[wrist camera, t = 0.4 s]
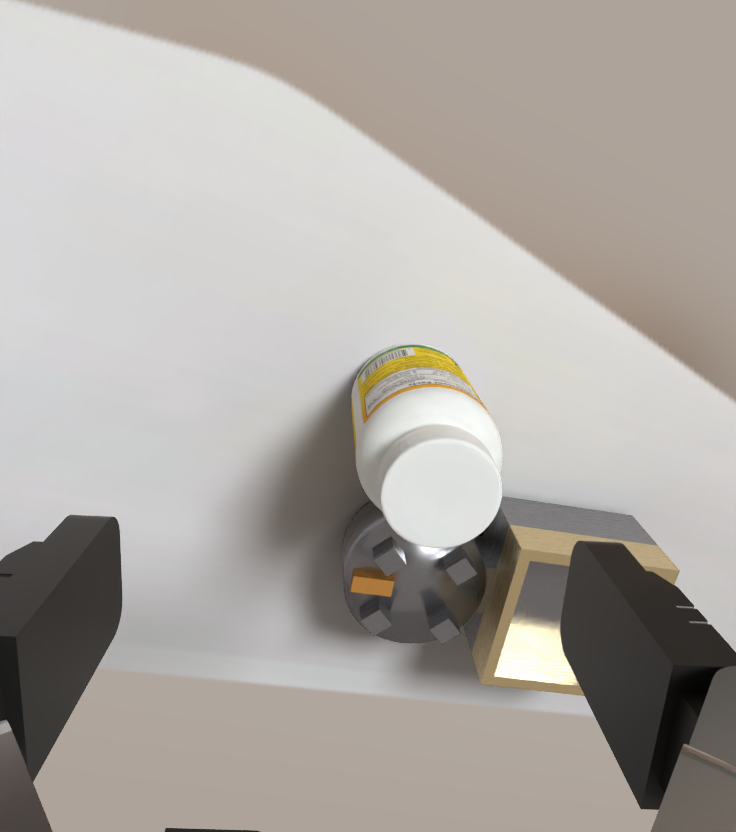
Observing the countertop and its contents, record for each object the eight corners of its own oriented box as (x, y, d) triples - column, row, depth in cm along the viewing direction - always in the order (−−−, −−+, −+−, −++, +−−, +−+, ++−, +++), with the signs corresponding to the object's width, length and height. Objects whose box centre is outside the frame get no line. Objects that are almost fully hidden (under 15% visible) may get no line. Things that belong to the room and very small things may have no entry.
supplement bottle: (373, 323, 29) (393, 394, 20) (485, 362, 30) (552, 445, 21) (333, 433, 31) (336, 542, 22) (441, 466, 32) (486, 584, 23)
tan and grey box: (331, 600, 34) (331, 667, 29) (356, 475, 32) (361, 526, 27) (589, 632, 35) (628, 700, 31) (632, 515, 33) (679, 570, 29)
